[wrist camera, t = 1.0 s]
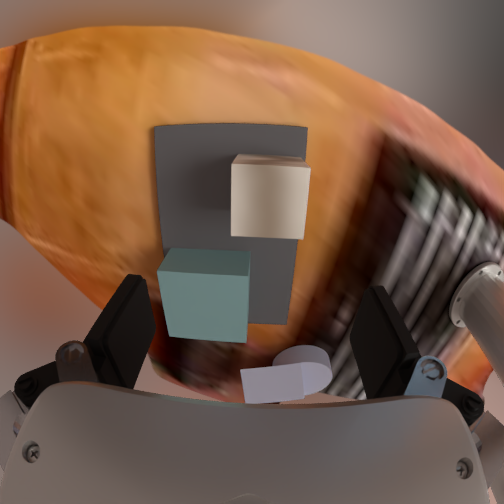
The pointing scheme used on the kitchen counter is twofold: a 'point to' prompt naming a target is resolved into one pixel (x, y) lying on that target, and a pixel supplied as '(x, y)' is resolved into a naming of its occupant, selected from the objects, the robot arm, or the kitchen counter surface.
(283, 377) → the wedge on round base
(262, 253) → the mat
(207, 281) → the plinth
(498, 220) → the kitchen counter surface
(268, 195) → the cream cube
